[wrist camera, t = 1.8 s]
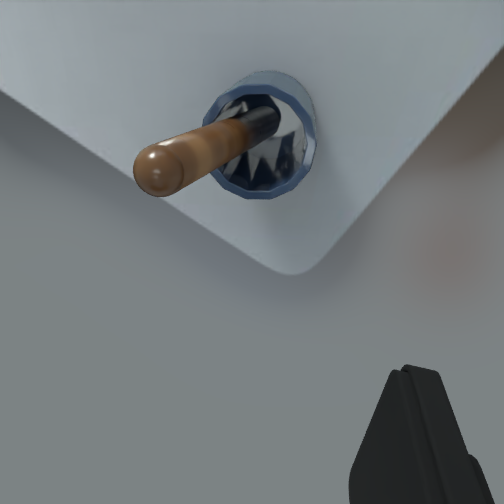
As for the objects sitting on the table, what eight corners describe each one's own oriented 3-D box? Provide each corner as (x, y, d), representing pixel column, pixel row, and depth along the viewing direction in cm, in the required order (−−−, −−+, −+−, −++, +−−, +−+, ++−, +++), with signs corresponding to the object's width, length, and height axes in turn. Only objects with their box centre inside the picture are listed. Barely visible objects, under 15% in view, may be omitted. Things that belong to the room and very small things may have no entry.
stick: (286, 108, 31) (175, 157, 17) (279, 139, 32) (168, 210, 18) (256, 101, 31) (125, 142, 17) (250, 131, 32) (120, 194, 18)
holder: (324, 80, 31) (329, 97, 24) (301, 171, 34) (299, 211, 26) (233, 60, 31) (210, 70, 24) (217, 152, 34) (192, 187, 26)
